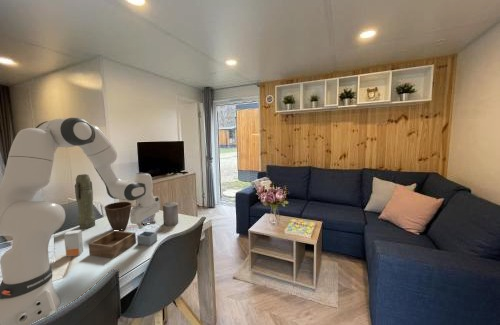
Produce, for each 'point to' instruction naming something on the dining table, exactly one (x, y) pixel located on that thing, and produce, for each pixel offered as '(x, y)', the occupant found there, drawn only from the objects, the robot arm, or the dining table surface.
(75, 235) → the skincare box
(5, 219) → the robot arm
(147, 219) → the solar panel
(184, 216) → the dining table surface
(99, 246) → the big crate
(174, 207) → the pillar candle
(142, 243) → the box
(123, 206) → the plant pot
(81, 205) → the thermos
